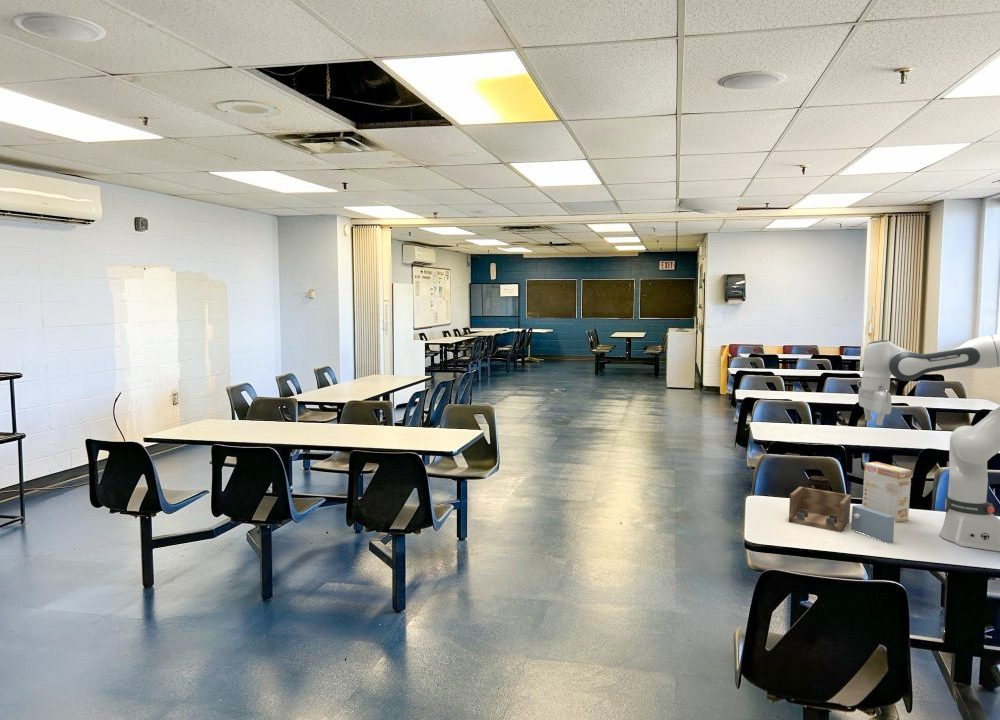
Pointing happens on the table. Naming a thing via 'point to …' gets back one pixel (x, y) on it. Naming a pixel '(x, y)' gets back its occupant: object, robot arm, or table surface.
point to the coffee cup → (819, 483)
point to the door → (872, 523)
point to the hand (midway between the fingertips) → (873, 422)
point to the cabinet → (819, 508)
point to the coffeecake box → (887, 489)
